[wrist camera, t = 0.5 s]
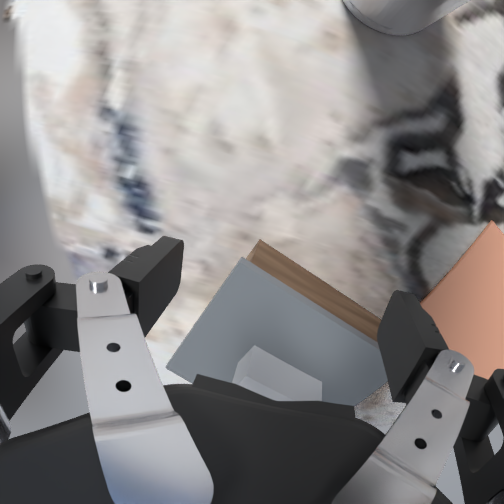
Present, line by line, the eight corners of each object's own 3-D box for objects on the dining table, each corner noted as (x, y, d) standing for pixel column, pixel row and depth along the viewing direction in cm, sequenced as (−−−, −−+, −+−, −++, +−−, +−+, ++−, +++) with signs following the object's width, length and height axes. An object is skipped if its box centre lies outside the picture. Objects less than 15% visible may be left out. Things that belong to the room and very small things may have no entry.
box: (259, 239, 32) (249, 267, 27) (385, 322, 34) (394, 358, 28) (194, 331, 39) (178, 364, 33) (305, 392, 40) (302, 427, 35)
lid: (244, 251, 27) (227, 288, 22) (402, 352, 29) (413, 396, 24) (171, 355, 34) (151, 393, 29) (306, 425, 36) (303, 464, 31)
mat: (491, 220, 27) (492, 221, 26) (558, 312, 29) (559, 314, 28) (373, 347, 36) (374, 349, 35) (465, 402, 38) (465, 404, 37)
